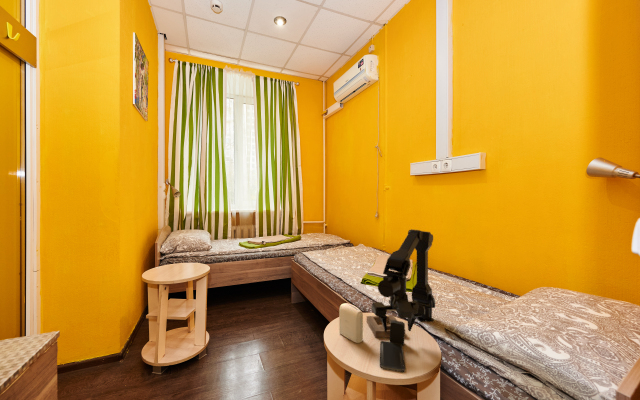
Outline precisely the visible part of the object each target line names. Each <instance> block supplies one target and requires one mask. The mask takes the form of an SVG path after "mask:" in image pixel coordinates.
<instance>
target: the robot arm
mask: <svg viewBox="0 0 640 400" xmlns="http://www.w3.org/2000/svg"><path fill="white" fill-rule="evenodd" d="M433 241H434V235H433V234H432V233H431V231H425V230H420V229H412V228H411V229H409V230H408V232H407V235H406V237H405V239H404V240H403V242H402V244H401V245H400V246H399V248H398V249H397V250H395V251H392V253H391V254H390V255H389V256H388V258H387V260H386V262H385V266H384V269H383V272H382V274H383V275H384V276H383V278H382V280H380V281H379V282H378V284H377V289H378V293H379V294H380V295H381V296H382V297H384V298H389V300H388V303H389V305H384V303H383V302H382V301H378V302H372V303H371V305H370V306H371V309H370V310H371V311H372V312H373V314H374V316H378V317H379V318H380V319H381V322H382V323H381V325H383V328H384V331H385V332H387V325H388V324H387V323H388V322H386V319H387V316H388V315H387V312H396V313H397V315H398V318H400V319H407V330H408V331H409V332H412V331H411V330H412V329H413V326H414V324H415V322H416V320H418V321H419V322H434V319H433V309H435V308H436V299H435V296H434V294H433V289H432V287H431V285H430V284H429V250H430V249H431V247H432V246H433ZM414 251H416V283H415V284H414V286H413V287H412V289H411V301H409V296H408V294H407V276H409V272H410V269H411V260H410V259H411V256H412V255H413V252H414Z"/></svg>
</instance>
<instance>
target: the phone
mask: <svg viewBox="0 0 640 400" xmlns="http://www.w3.org/2000/svg"><path fill="white" fill-rule="evenodd" d="M379 347H380V348H379V368H380V369H382V370H385V371H386V370H387V371H391V372H397V373H405V372H406V362H405V356H404V348H403V347H404V346H402V344H399V343H393V342H390V341H385V340H381V341H380V343H379Z"/></svg>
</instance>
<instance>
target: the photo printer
mask: <svg viewBox="0 0 640 400" xmlns="http://www.w3.org/2000/svg"><path fill="white" fill-rule="evenodd" d="M338 312H339V314H338V315H339V317H338V319H339V320H338V327H339V328H338V330H339V334H340V335H342V336H343V337H345V338H347V339H348V340H349V341H351V342H354V343H357V344H360V343H361V342H362V341H363V339H364V334H363V333H364V328H363V327H364V326H363V325H364V321H363V319H364V316H363V315H364V314H363V311H362V310H360V308H358V307H357V306H355V305H353V304H351V303H347V302H346V303H342V304H341V305H340V306H339V311H338Z"/></svg>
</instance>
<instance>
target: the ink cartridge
mask: <svg viewBox="0 0 640 400" xmlns="http://www.w3.org/2000/svg"><path fill="white" fill-rule="evenodd" d="M396 320H397V319H396ZM396 320H391V324H389V325H390V337H389V342H393V343H399V344H402V347H404V346H405V345H404V344H405V337H404V333H405V334H406V329H405V328H406V324H405V322H403V321H400V320H397V321H396Z"/></svg>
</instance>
